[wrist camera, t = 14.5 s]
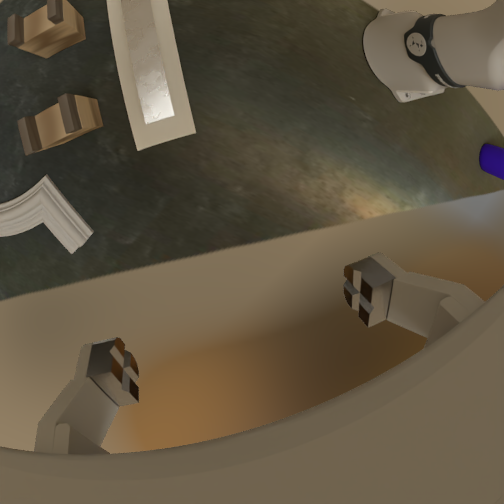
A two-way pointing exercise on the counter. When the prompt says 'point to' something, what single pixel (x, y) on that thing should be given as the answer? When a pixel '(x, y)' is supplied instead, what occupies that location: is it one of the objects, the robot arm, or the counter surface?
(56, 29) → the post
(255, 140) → the counter surface
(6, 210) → the molding
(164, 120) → the plank
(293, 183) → the counter surface
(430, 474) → the robot arm
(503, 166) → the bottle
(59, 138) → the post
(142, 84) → the rail
